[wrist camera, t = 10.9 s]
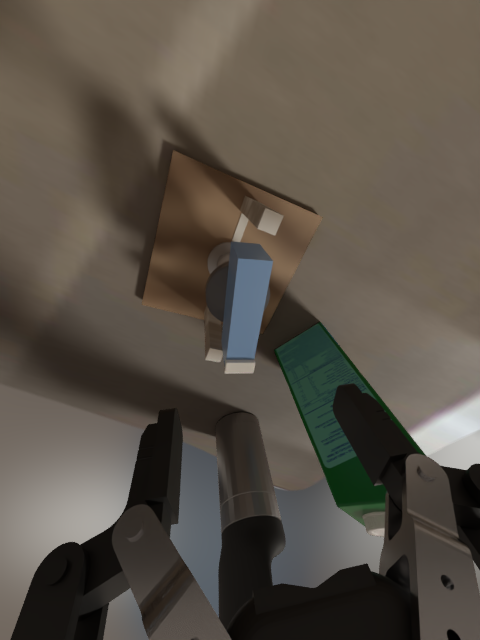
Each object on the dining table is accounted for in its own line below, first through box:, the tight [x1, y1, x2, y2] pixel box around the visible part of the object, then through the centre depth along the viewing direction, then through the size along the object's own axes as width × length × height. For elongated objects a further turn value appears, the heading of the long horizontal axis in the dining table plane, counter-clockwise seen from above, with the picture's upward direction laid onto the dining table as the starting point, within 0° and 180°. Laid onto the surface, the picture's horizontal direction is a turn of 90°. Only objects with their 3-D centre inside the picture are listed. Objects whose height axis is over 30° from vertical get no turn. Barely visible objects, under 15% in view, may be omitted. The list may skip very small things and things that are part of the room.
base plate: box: [142, 150, 323, 362], centre depth 27 cm, size 18×18×11 cm
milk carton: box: [274, 322, 426, 537], centre depth 32 cm, size 9×9×25 cm
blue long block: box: [205, 241, 273, 374], centre depth 21 cm, size 6×10×6 cm, turn 173°
